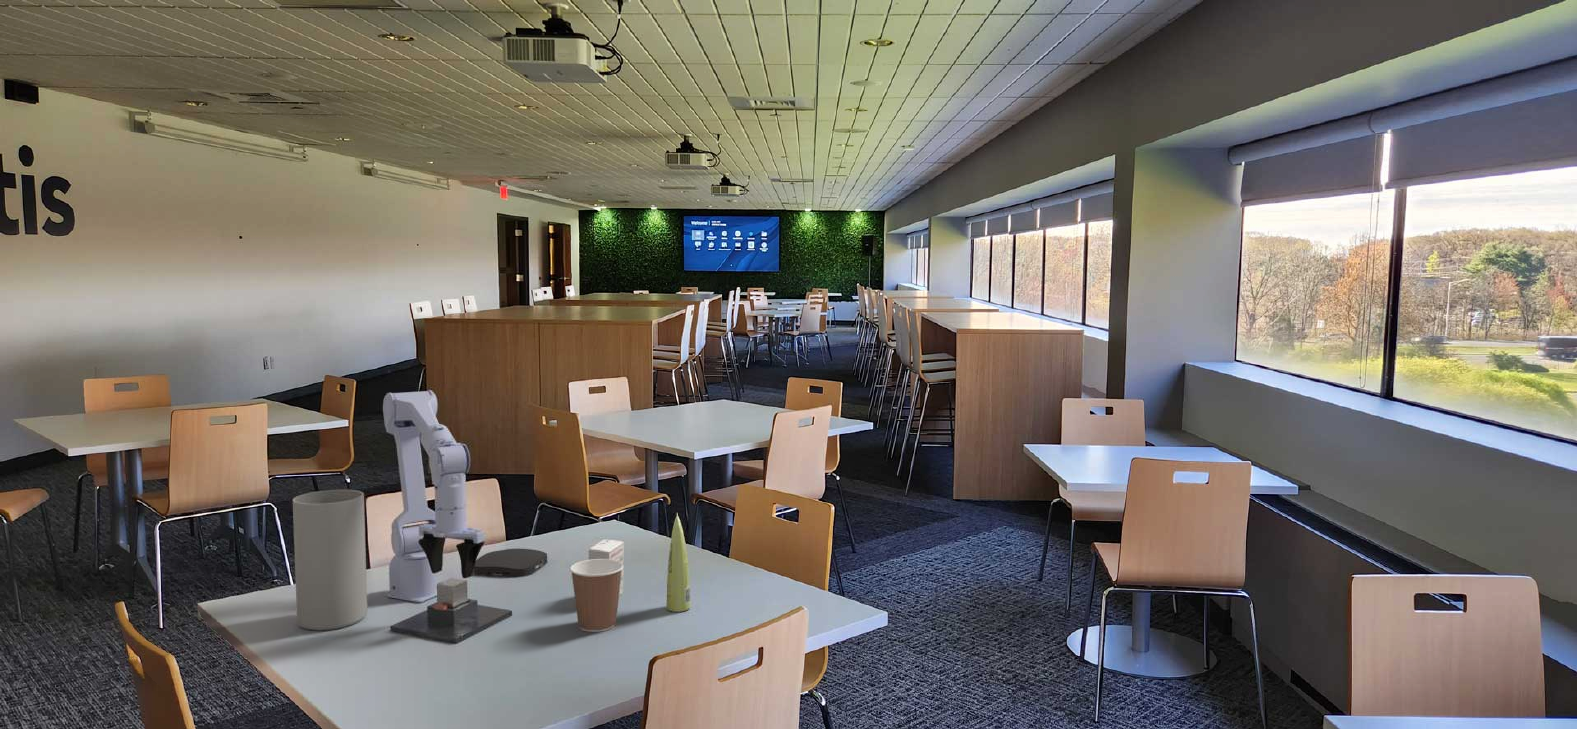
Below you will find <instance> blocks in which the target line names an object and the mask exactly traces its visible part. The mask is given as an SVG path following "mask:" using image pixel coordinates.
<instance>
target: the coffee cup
mask: <svg viewBox="0 0 1577 729" xmlns="http://www.w3.org/2000/svg"><path fill="white" fill-rule="evenodd" d="M622 569H623V570H624V563H623V564H622V563H621V562H619V561H616V560H610V559H591V560H589V559H586V560H582V561H577V562H576V563H573V564H572V565H571V566H570V567H569V570H570V572H571V580H572V585H573V594H574V601H575V608H576V616H577V622H578V625H579V629H581V630H582V631H584V632H588V633H601V632H605V631H609V630H610V629H612V628H614V627H615V625H616V620H617V617H618V616H617V615H618V608H619V600H620V599H619V598H620V596H619V591H620V582H621V573H622Z"/></svg>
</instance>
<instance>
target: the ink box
mask: <svg viewBox="0 0 1577 729" xmlns="http://www.w3.org/2000/svg"><path fill="white" fill-rule="evenodd" d="M624 548H625V542H624V541H623V540H622V541H621V540H616V539H602V540H601V541H599V542H597V543H596V544H594V545H593V546H591V547H590V548H589V550H588V560H591V559H610V560H616V561H619V562H621V563H622V564H623V565H624V559H625V558H624V556H625V555H624V551H625V550H624ZM623 593H624V568H623V569H622V573H621V582H620V591H619V597H620V596H621V595H622V594H623Z"/></svg>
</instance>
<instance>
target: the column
mask: <svg viewBox="0 0 1577 729" xmlns="http://www.w3.org/2000/svg"><path fill="white" fill-rule="evenodd" d="M468 596H469V595H468V580H466V579H460V578H456V577H455V578H453V577H450V578H448V579H446V580H442V581H440V582H437V596H436V602H437V604H441V605H446V606H447V608H449V609H455V608H457V607H460V606H462V605H464V604H466V603H468V599H469V598H468Z"/></svg>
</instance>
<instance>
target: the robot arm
mask: <svg viewBox="0 0 1577 729" xmlns="http://www.w3.org/2000/svg"><path fill="white" fill-rule="evenodd" d="M382 412H383V419H384V420H383V422H384V427H385V432H386V433H388V434H391V435H393V436H394V441H395V444H396V452H397V453H396V454H397V460H398V461H397V462H398V463H397V464H398V470H399V472H398V473H399V479H400V488H401V496H402V504H403V505H402V506H403V511H402V512H400V513H399V515H397V517H395V518H394V519H393V521H392V522H391V525H390V526H391V534H390V536H391V537H390V539H391V541H390V542H391V543H390V544H391V548H392V551H393V554H394V556H393V557H392V558H391V560H390V562H389V567H388V570H389V571H388V575H389V576H388V580H389V593H387V594H386V597H387V598H392V599H397V600H403V601H410V602H414V603H423V602H425V601H428V600H430V599H432V598H435V597H437V584H438V573H439V572H442V571H443V562H444V547H445V543H446V539H452V540H460V541H462V542H461V543H457V544H456V545H455V547H456V549H457V551H458V552H457V553H458V554H459V559H460V568H461V577H462V579H467V578H470V577H473V575H474V566H475V562H476V560H477V559H478V556H479V554H480V552H481V549H482V548H483V547H484V545H485V531H483V530H478V529H475V528H473V527H469V526H468V525H467V495H466V494H467V491H466V490H467V489H466V487H467V486H466V485H467V484H466V482H467V481H466V478H467V477H466V474H468V473H469V471H470V468H471V454H470V451H469V449H468V447H467V445H466V444H465V443H461V442H457V440H456V439H455V437H454V436H453V434H452V433H451V432H450V430H449V428H448V426H446V425H444V424H442V423H439V420H438V419H437V412H438V398H437V395H436V394H435V393H434V392H433V390H431V389H430V390H429V389H428V390H426V391H425V390H424V391H423V390H422V391H409V392H406V391H405V392H387V393H386V395H385V396H384V398H383V403H382ZM421 446H422V447H423V449H424V450H425V452H426V453H427V455H428V457H429V459H428V460H429V462H428V463H429V469H430V474H431V481H432V482H431V484H432V485H434V510H433V509H431V508H429V507H428V500H427V491H426V483H425V475H424V465H423V460H422V458H423V456H422V451H421V450H422V449H421ZM423 522H424V523H423ZM425 522H426V523H425ZM416 523H417V524H416ZM418 523H419V524H418ZM408 524H411V525H408ZM412 524H413V525H412ZM405 525H406V526H405Z"/></svg>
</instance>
